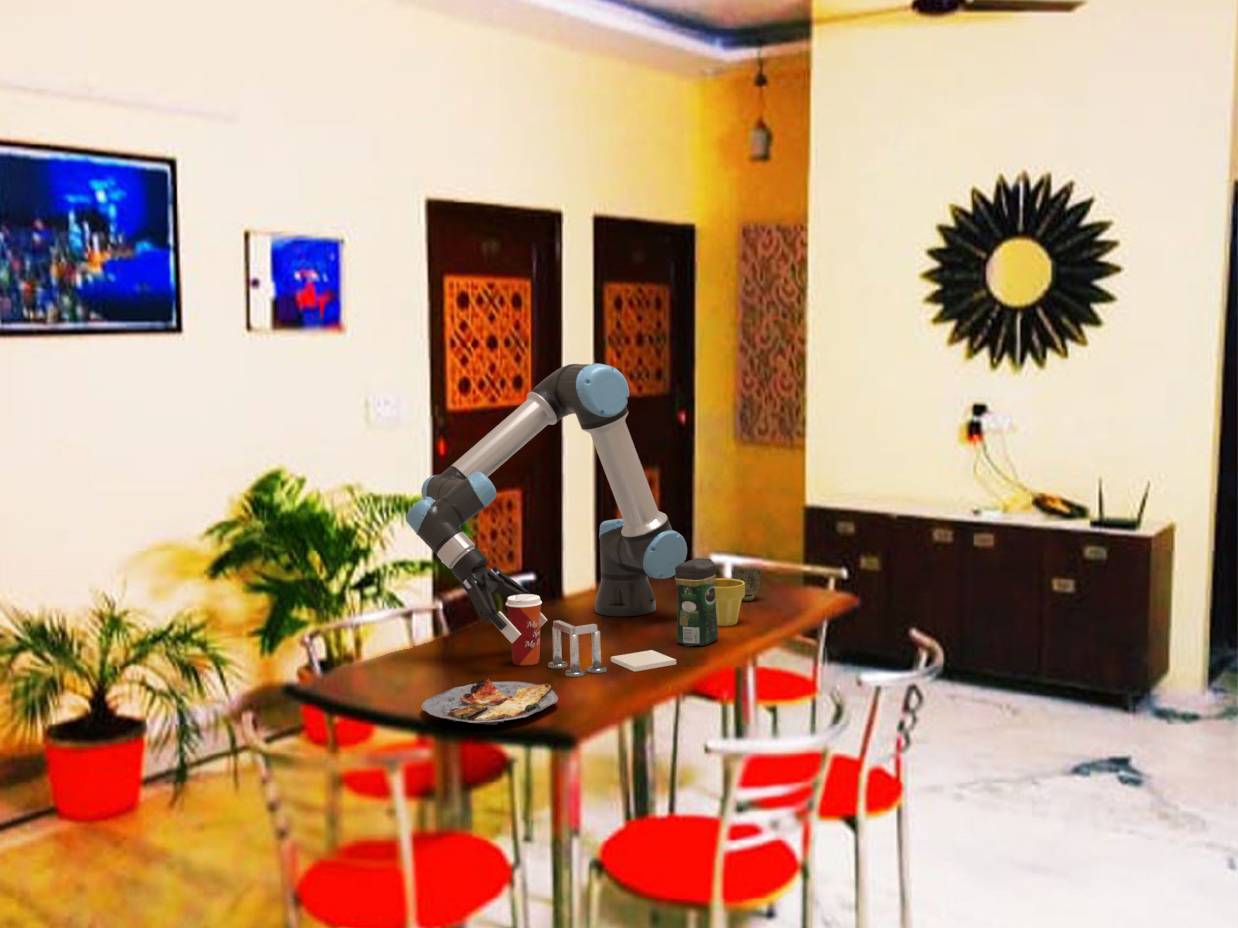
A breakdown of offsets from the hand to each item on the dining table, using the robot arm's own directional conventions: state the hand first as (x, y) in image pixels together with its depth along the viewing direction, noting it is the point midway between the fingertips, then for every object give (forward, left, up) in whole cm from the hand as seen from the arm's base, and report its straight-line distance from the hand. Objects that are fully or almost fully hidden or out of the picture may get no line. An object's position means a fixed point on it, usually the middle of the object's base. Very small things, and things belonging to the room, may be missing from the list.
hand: (530, 631), depth 274 cm
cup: (-25, +72, -7) cm, 77 cm away
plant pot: (-7, +53, -7) cm, 54 cm away
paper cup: (-1, -1, -7) cm, 7 cm away
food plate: (+27, -21, -7) cm, 35 cm away
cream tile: (+14, +19, -7) cm, 25 cm away
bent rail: (+10, +6, -7) cm, 13 cm away
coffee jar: (+5, +38, -7) cm, 39 cm away
